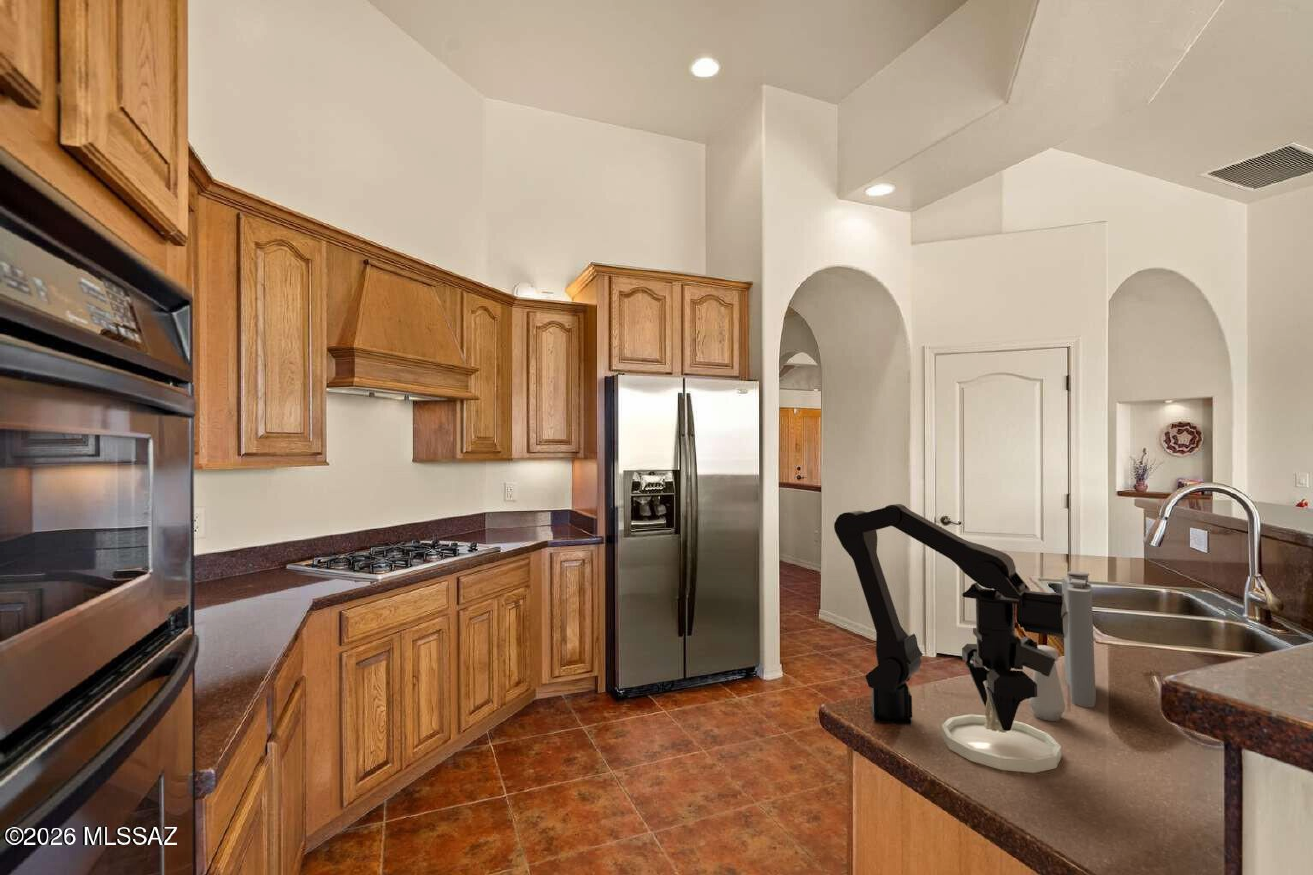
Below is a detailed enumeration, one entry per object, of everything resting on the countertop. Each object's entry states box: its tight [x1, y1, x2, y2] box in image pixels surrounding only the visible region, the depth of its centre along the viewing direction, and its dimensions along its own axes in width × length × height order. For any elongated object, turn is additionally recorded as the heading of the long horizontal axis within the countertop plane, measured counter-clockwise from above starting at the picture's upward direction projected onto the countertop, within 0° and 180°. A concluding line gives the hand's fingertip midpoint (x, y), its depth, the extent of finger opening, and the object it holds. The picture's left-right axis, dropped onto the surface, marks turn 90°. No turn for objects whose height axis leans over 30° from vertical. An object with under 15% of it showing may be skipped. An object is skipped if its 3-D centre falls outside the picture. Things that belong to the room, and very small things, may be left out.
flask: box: [1061, 570, 1097, 708], centre depth 127 cm, size 17×5×25 cm, turn 150°
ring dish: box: [941, 713, 1062, 774], centre depth 103 cm, size 17×17×2 cm
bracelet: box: [983, 680, 1007, 733], centre depth 103 cm, size 4×8×8 cm, turn 148°
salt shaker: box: [1028, 644, 1066, 722], centre depth 115 cm, size 6×6×13 cm
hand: (997, 719), depth 103 cm, fingers closed on bracelet, 8 cm apart
